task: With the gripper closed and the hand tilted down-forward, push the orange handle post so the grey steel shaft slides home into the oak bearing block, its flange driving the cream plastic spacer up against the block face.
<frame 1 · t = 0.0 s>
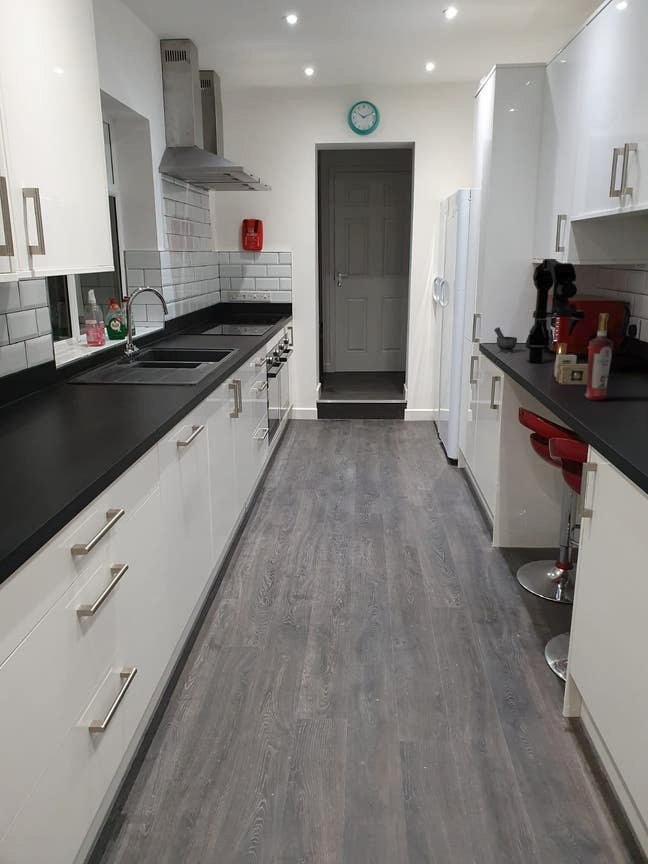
hand: (557, 336, 263), 15 cm above the table, tool pointing down, fingers open, 9 cm apart
bearing block: (573, 382, 249), on the table
coffee cup: (597, 370, 274), on the table
shaft: (568, 362, 255), point 6 cm above the table, slide at 0.0 cm
liquor: (595, 399, 221), on the table
mortar and pestle: (504, 352, 324), on the table
spacer: (564, 376, 260), on the table
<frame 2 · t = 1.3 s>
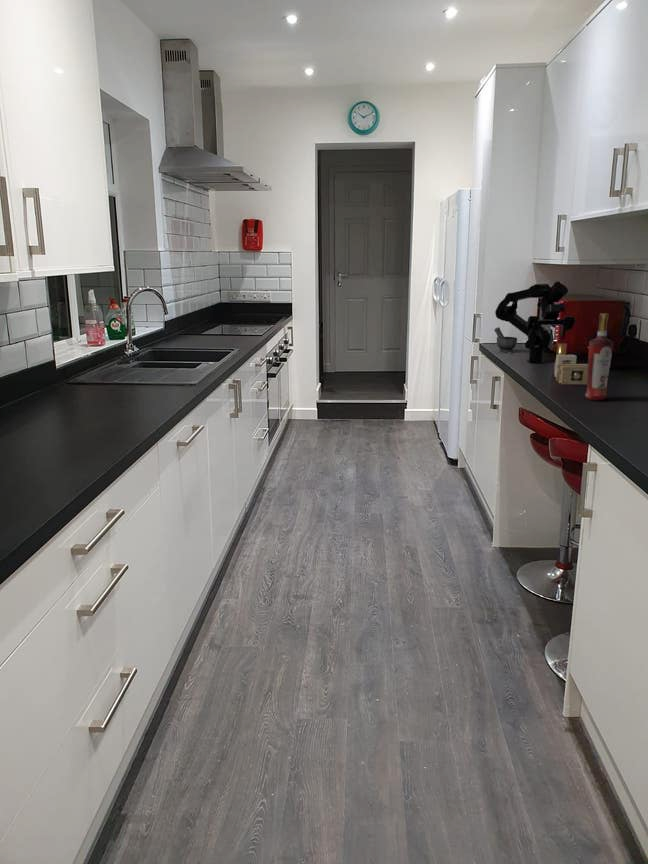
hand: (553, 338, 274), 12 cm above the table, tool tilted 45°, fingers open, 8 cm apart
nothing on the table moved.
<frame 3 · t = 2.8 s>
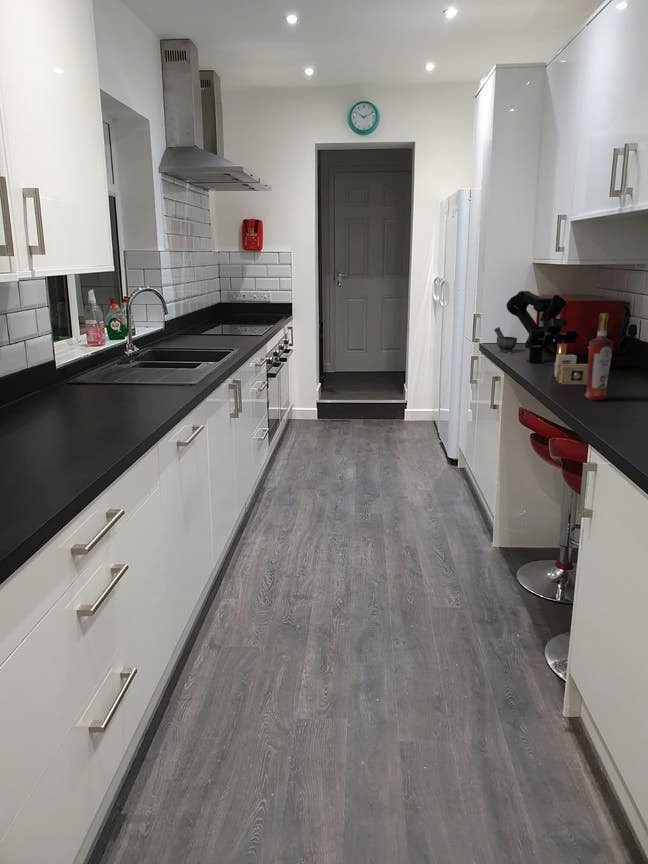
hand: (555, 353, 271), 7 cm above the table, tool tilted 45°, fingers closed
nothing on the table moved.
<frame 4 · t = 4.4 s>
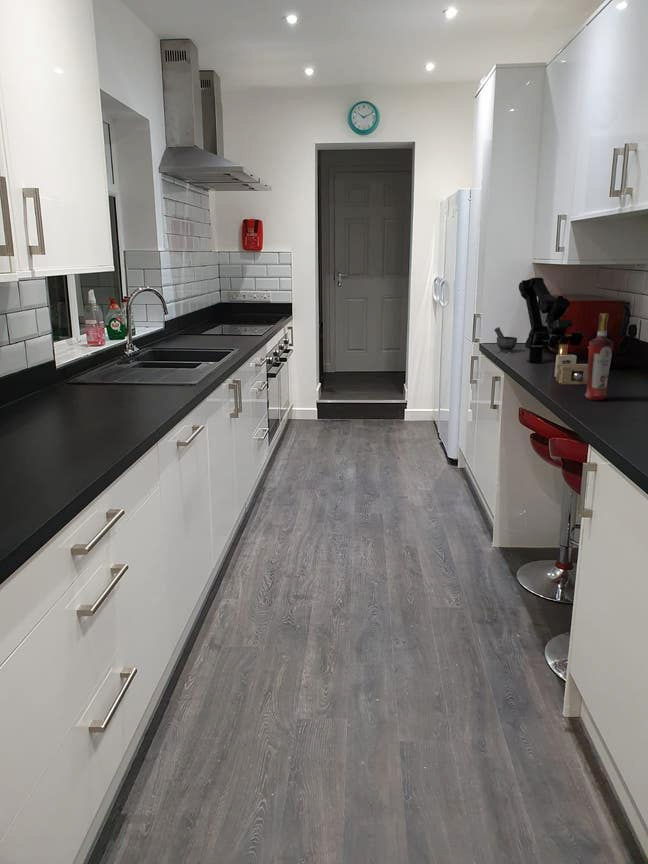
hand: (561, 355, 264), 7 cm above the table, tool tilted 45°, fingers closed, pressing on shaft
shaft: (569, 363, 254), point 6 cm above the table, slide at 1.6 cm, touching gripper
everything else where it was.
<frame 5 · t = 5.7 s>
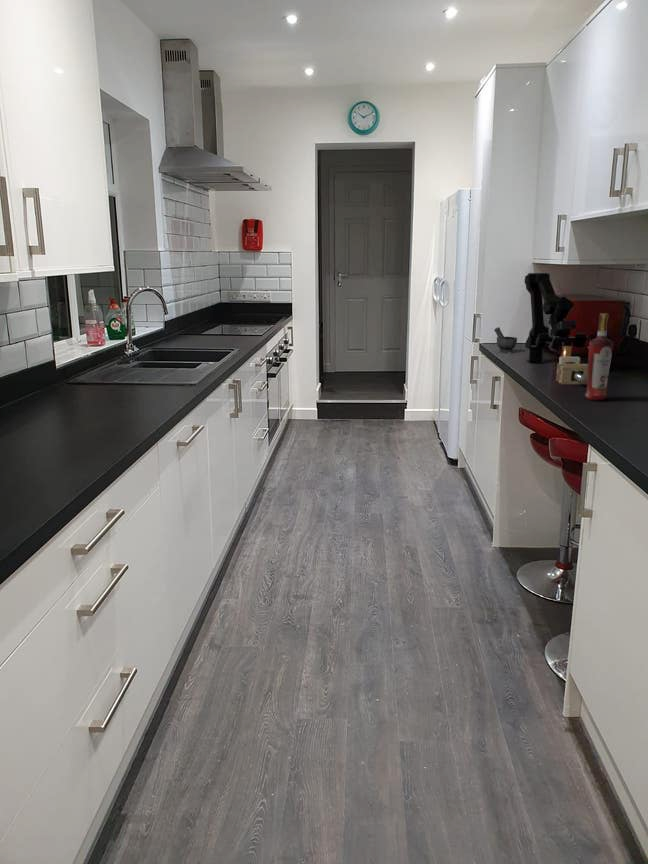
hand: (564, 357, 260), 7 cm above the table, tool tilted 45°, fingers closed
shaft: (573, 365, 249), point 6 cm above the table, slide at 6.3 cm, touching spacer
spacer: (567, 379, 256), on the table, touching shaft
everything else where it was.
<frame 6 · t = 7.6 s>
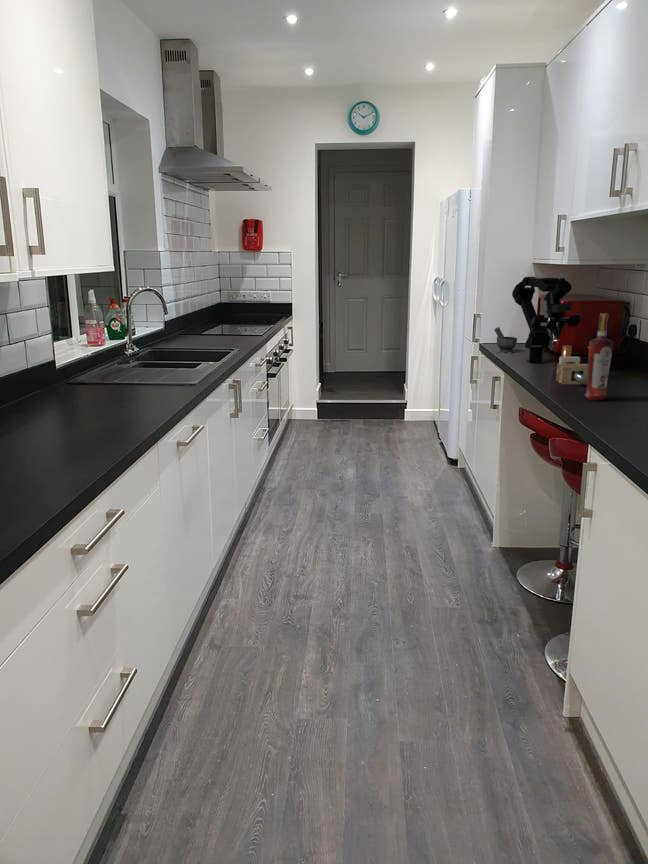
hand: (558, 339, 270), 13 cm above the table, tool tilted 35°, fingers closed
nothing on the table moved.
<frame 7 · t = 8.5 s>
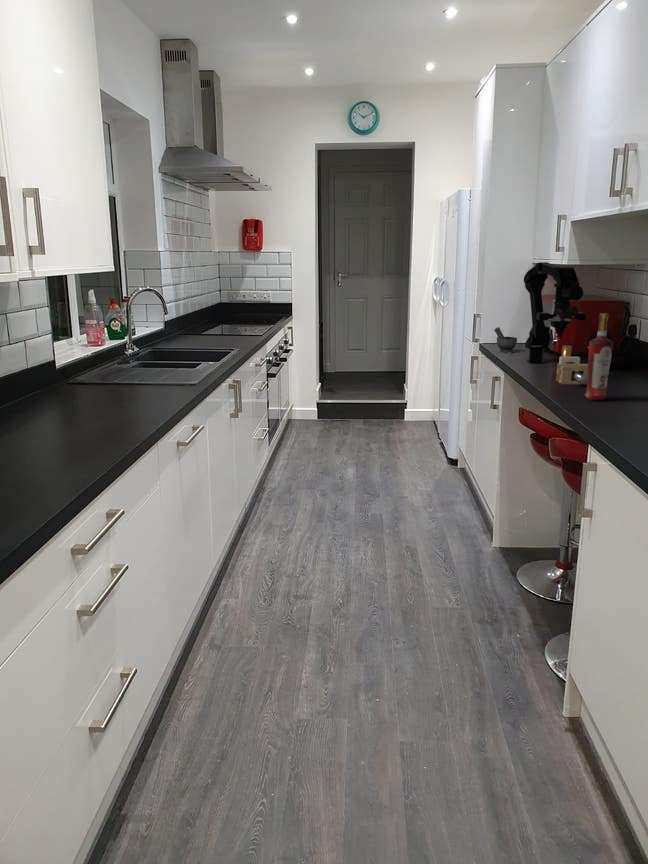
hand: (559, 337, 273), 13 cm above the table, tool pointing down, fingers closed
nothing on the table moved.
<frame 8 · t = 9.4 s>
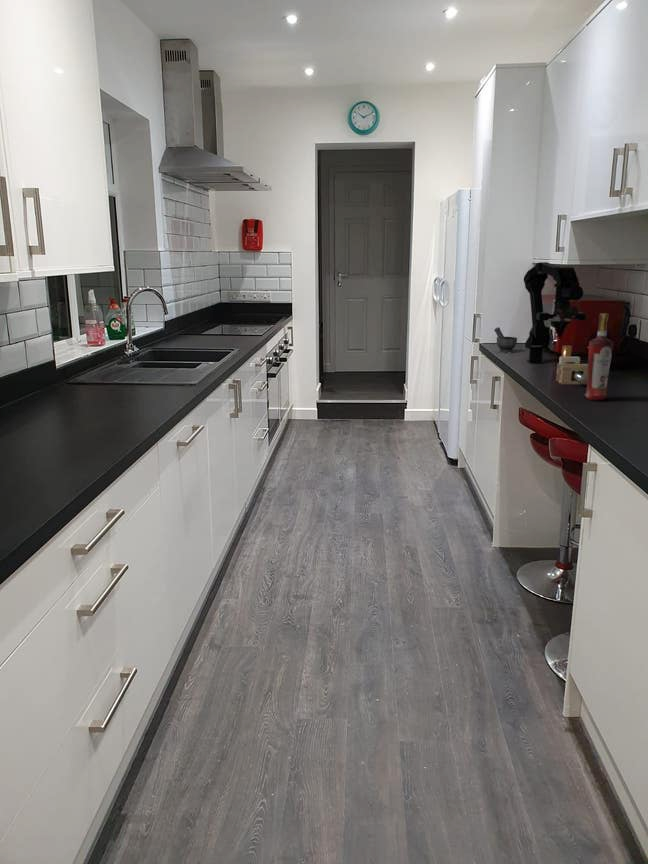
hand: (559, 337, 273), 13 cm above the table, tool pointing down, fingers closed
nothing on the table moved.
at the end: shaft slide at 6.3 cm; spacer 1.2 cm from the target spot, on the table; spacer tilted 0° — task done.
